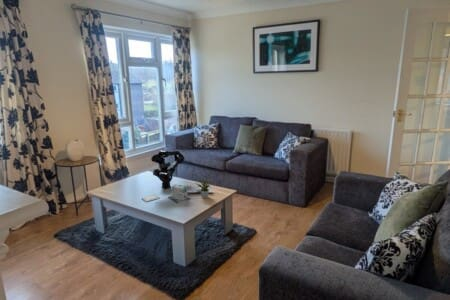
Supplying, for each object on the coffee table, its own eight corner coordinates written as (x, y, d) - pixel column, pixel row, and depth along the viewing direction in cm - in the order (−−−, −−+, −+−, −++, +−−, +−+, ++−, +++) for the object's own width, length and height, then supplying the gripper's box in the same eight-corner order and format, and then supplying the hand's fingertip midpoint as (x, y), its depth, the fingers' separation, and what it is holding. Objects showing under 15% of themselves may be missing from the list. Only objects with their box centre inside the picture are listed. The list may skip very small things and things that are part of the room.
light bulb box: (187, 197, 243) (186, 185, 240) (183, 200, 237) (183, 188, 234) (175, 195, 246) (175, 183, 244) (171, 198, 240) (171, 186, 237)
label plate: (155, 194, 250) (154, 194, 249) (159, 198, 243) (159, 197, 243) (141, 198, 242) (141, 197, 242) (146, 202, 236) (146, 201, 235)
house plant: (207, 191, 255) (206, 173, 251) (217, 196, 245) (217, 177, 241) (193, 196, 246) (193, 177, 242) (203, 201, 236) (203, 182, 232)
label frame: (181, 193, 252) (181, 193, 252) (190, 198, 241) (190, 198, 241) (167, 197, 244) (167, 197, 244) (176, 203, 233) (176, 202, 233)
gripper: (153, 160, 244) (158, 176, 238) (174, 158, 254) (179, 173, 247) (150, 167, 252) (155, 183, 246) (171, 164, 262) (176, 180, 255)
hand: (166, 179), depth 248 cm, fingers open, 9 cm apart
